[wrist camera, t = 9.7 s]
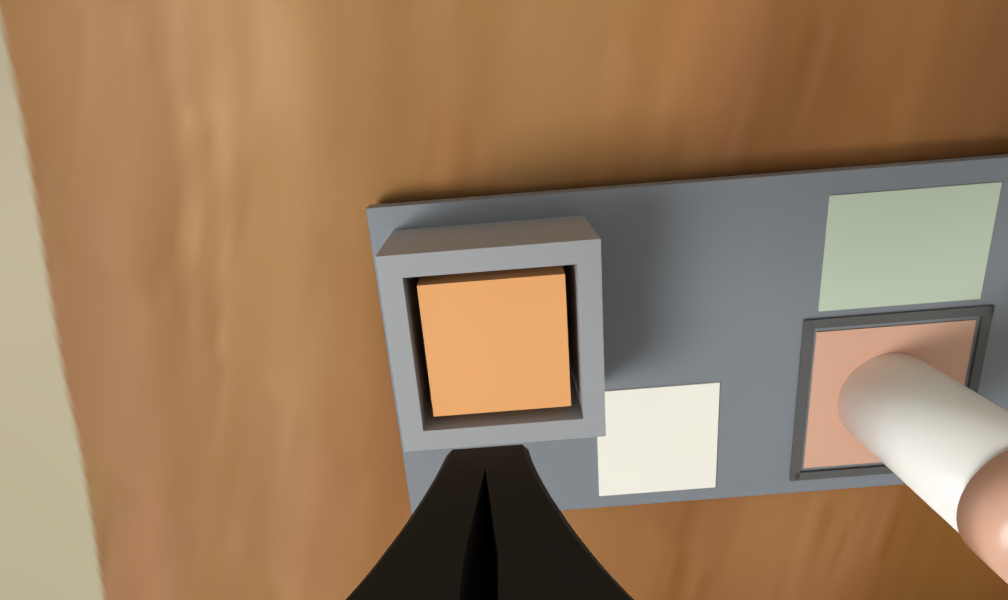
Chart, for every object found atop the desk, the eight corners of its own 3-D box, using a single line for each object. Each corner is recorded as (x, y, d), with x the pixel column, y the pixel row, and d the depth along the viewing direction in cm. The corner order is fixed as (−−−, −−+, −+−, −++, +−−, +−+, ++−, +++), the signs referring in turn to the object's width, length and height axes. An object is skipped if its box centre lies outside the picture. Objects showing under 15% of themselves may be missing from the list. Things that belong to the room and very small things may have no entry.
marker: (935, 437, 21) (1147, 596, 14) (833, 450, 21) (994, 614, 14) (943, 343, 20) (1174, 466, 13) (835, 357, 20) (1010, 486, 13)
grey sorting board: (1003, 465, 22) (1098, 535, 18) (415, 510, 22) (401, 587, 19) (1073, 148, 18) (1206, 162, 15) (369, 204, 18) (342, 231, 15)
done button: (561, 368, 19) (570, 406, 17) (440, 377, 19) (433, 416, 17) (556, 250, 18) (565, 274, 16) (426, 260, 18) (416, 285, 16)
